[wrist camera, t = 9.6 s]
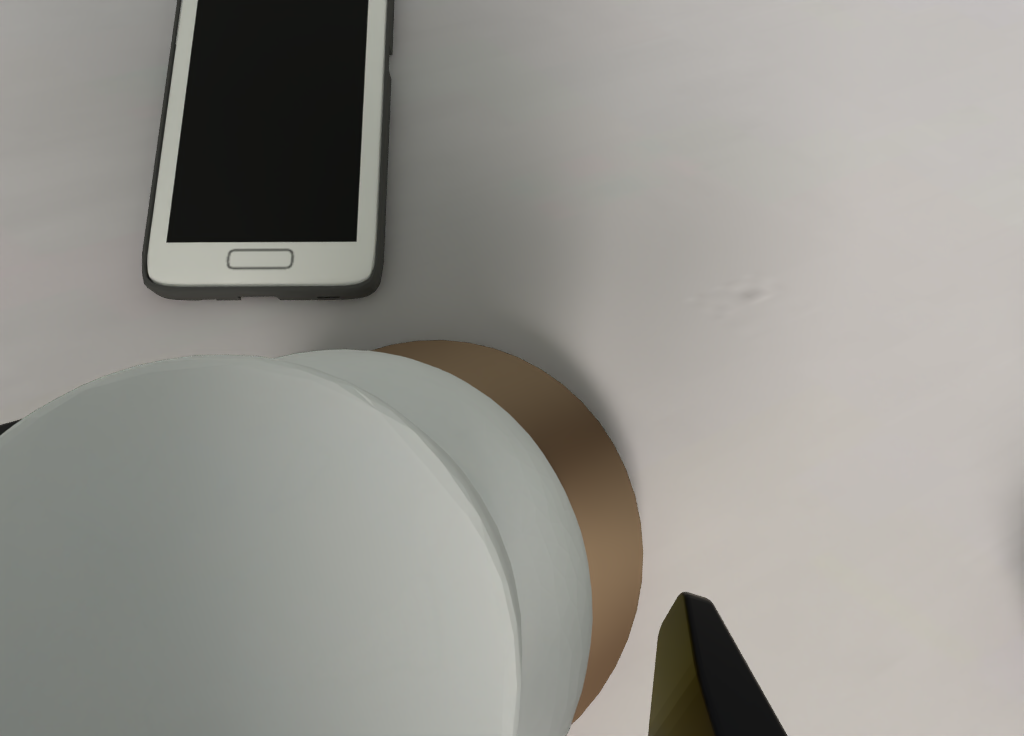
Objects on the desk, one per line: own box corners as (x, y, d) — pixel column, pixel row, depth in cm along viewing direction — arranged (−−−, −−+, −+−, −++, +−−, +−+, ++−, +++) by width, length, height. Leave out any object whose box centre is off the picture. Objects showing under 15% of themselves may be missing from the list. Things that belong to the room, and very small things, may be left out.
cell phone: (151, 304, 20) (134, 294, 19) (199, -54, 23) (186, -78, 22) (384, 303, 20) (378, 292, 19) (398, -54, 24) (393, -77, 23)
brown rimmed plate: (716, 551, 18) (734, 555, 17) (416, 870, 16) (407, 907, 15) (450, 277, 20) (446, 260, 19) (151, 534, 18) (120, 536, 17)
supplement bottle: (498, 400, 18) (491, 128, 5) (581, 628, 16) (852, 1032, 4) (275, 478, 17) (-362, 389, 4) (340, 723, 16) (-319, 1598, 3)
